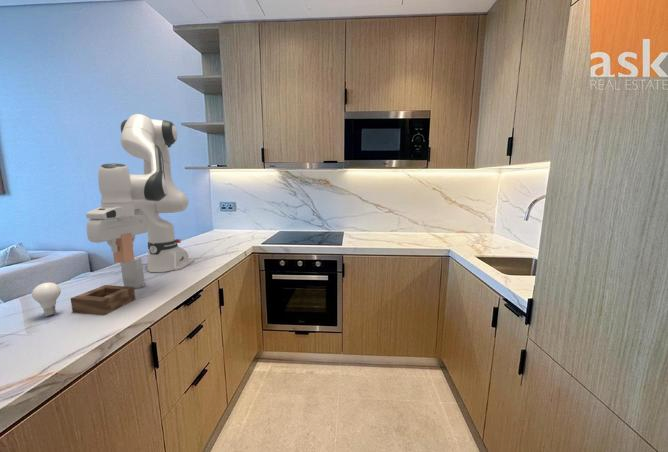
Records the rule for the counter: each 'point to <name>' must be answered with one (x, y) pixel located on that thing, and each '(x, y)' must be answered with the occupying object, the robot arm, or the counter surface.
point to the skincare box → (133, 273)
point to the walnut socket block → (102, 299)
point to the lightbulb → (47, 296)
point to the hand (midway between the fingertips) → (122, 249)
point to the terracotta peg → (124, 249)
